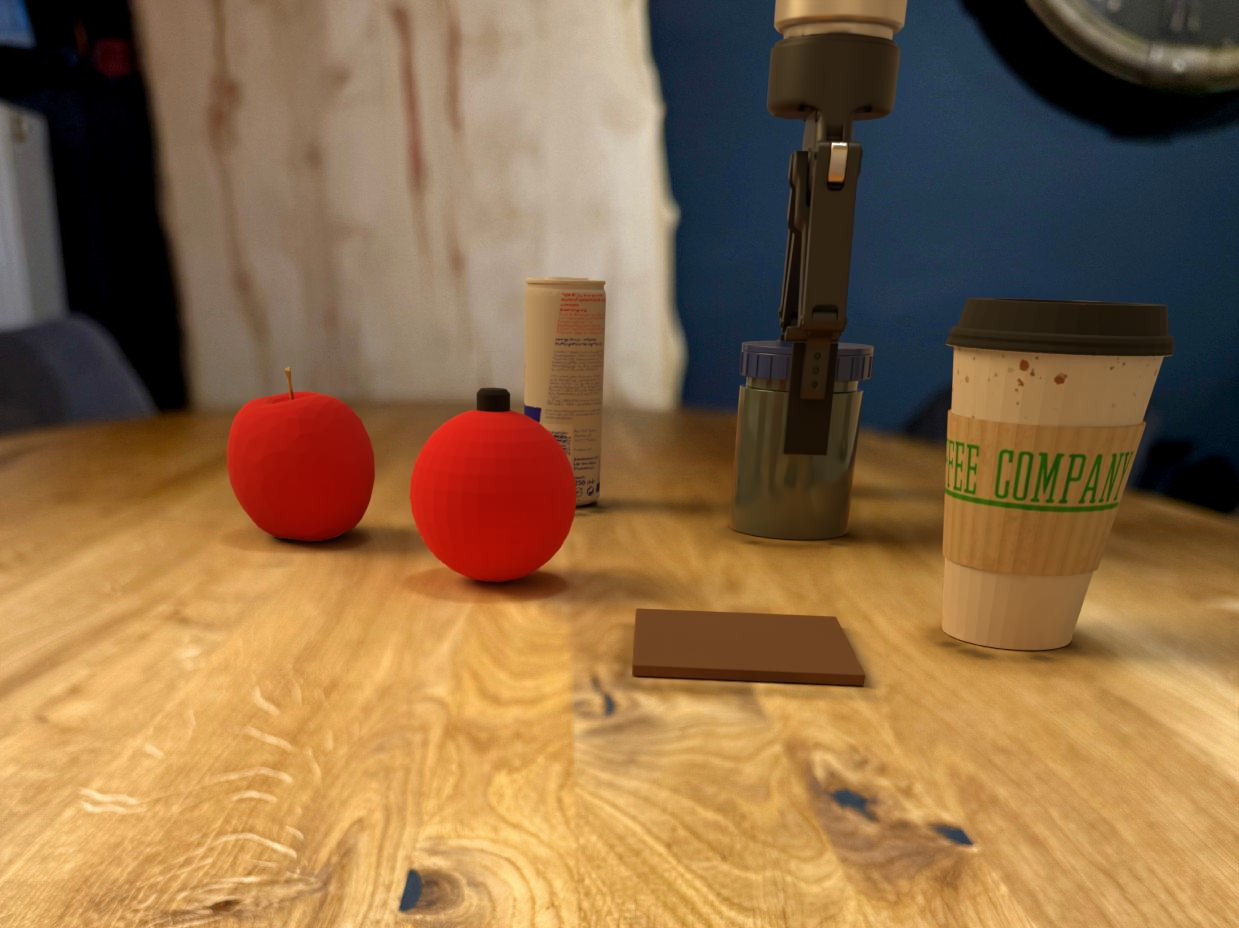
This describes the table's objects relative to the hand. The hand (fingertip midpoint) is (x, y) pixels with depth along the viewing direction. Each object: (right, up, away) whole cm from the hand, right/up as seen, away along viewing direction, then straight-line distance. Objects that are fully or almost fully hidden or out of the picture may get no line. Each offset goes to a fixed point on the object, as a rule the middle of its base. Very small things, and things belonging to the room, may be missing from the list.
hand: (797, 444), depth 84 cm
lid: (0, +5, -3) cm, 6 cm away
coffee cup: (+7, -17, -21) cm, 28 cm away
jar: (0, -5, +2) cm, 6 cm away
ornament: (-19, -13, -14) cm, 27 cm away
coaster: (-7, -18, -25) cm, 32 cm away
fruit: (-32, -8, -4) cm, 33 cm away
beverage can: (-16, -1, +9) cm, 18 cm away
